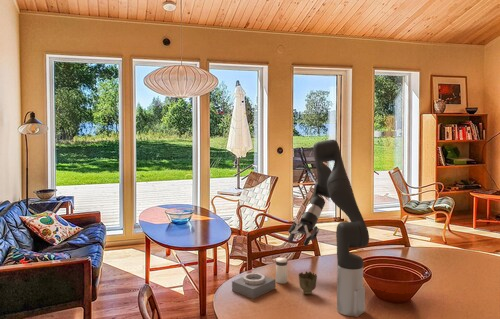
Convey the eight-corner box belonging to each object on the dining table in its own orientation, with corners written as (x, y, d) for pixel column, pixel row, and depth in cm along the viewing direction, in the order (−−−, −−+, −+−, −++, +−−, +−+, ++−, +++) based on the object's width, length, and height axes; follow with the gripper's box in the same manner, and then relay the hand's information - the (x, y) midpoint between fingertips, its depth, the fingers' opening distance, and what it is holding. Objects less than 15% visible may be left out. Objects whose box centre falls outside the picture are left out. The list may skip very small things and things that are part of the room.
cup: (302, 298, 151) (302, 278, 150) (295, 291, 158) (295, 272, 157) (319, 296, 153) (320, 277, 152) (312, 289, 160) (312, 270, 159)
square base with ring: (275, 288, 160) (275, 275, 160) (253, 299, 150) (253, 285, 150) (254, 281, 168) (254, 269, 168) (232, 290, 158) (232, 277, 158)
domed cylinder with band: (289, 281, 168) (289, 259, 168) (282, 284, 165) (282, 262, 164) (280, 278, 172) (280, 256, 171) (273, 281, 168) (273, 259, 167)
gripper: (296, 209, 186) (281, 236, 178) (320, 213, 176) (306, 242, 169) (302, 217, 190) (288, 245, 183) (326, 222, 180) (313, 251, 173)
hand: (297, 243), depth 176 cm, fingers open, 8 cm apart
